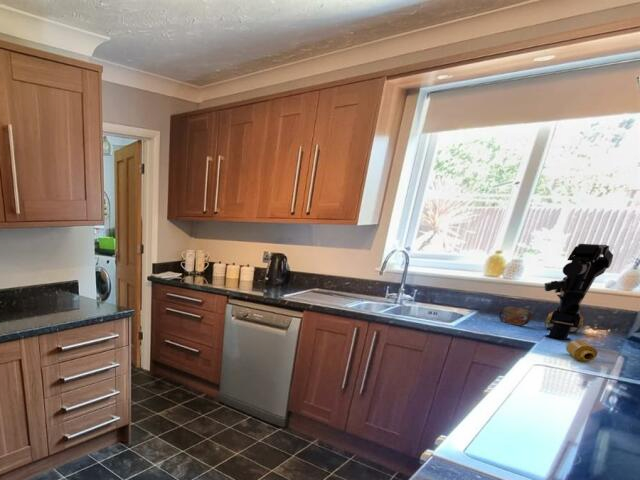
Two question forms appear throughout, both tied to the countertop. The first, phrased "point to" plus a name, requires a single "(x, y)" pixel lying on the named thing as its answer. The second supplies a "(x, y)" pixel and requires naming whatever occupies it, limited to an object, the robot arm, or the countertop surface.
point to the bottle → (581, 350)
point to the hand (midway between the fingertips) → (560, 312)
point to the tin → (515, 315)
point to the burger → (573, 329)
